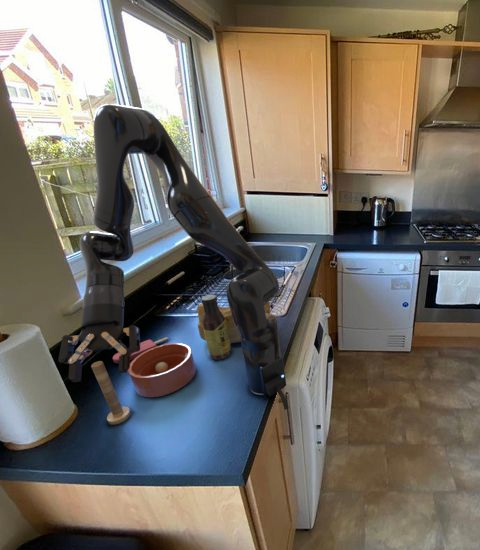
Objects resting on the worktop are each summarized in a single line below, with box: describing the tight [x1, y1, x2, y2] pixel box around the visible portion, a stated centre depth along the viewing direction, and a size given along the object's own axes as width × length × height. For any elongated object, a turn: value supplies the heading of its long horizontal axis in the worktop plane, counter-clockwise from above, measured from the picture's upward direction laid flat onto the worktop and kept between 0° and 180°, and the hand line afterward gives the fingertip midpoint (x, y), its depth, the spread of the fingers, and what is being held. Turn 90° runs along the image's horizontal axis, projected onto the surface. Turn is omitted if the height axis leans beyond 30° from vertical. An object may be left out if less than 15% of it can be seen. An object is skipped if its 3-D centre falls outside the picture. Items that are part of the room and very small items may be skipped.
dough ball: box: [155, 362, 168, 373], centre depth 86 cm, size 3×3×3 cm
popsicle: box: [112, 336, 169, 364], centre depth 96 cm, size 5×2×15 cm
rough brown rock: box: [196, 301, 271, 344], centre depth 103 cm, size 23×17×15 cm
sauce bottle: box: [200, 294, 232, 361], centre depth 91 cm, size 7×6×20 cm
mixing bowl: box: [127, 342, 197, 398], centre depth 83 cm, size 14×14×7 cm
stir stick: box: [90, 360, 132, 426], centre depth 70 cm, size 4×4×16 cm
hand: (99, 377), depth 67 cm, fingers open, 8 cm apart
